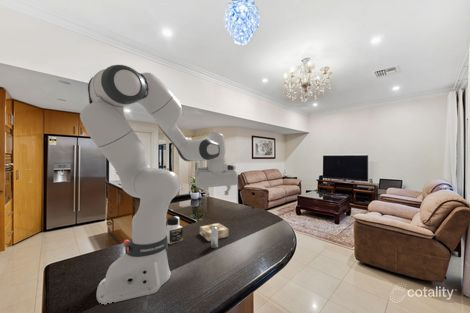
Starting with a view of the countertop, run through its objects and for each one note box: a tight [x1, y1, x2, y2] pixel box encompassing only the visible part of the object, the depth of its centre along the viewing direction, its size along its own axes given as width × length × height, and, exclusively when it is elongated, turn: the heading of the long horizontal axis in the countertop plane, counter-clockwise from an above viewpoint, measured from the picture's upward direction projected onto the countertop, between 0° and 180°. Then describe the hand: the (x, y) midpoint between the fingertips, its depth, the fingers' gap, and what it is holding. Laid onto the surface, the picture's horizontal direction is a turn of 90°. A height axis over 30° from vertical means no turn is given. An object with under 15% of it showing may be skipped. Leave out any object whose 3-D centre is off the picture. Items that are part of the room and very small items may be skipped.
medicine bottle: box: [166, 216, 184, 245], centre depth 103 cm, size 7×7×12 cm
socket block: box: [199, 222, 230, 242], centre depth 110 cm, size 12×12×4 cm
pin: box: [210, 226, 219, 249], centre depth 96 cm, size 3×3×9 cm
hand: (217, 195), depth 94 cm, fingers open, 8 cm apart
